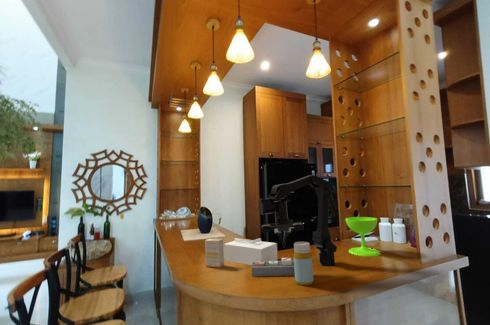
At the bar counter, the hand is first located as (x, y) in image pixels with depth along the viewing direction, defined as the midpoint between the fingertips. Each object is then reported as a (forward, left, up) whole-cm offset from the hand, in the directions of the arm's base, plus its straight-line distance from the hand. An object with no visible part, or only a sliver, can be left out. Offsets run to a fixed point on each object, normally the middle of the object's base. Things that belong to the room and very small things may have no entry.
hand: (283, 247), depth 110 cm
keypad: (+5, 0, -11) cm, 12 cm away
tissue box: (+17, -20, -11) cm, 29 cm away
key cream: (-1, 0, -7) cm, 7 cm away
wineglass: (-45, -28, -11) cm, 54 cm away
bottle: (-6, +13, -11) cm, 18 cm away
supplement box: (+34, -11, -11) cm, 38 cm away
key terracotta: (+11, 0, -8) cm, 14 cm away
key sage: (+5, 0, -8) cm, 10 cm away
